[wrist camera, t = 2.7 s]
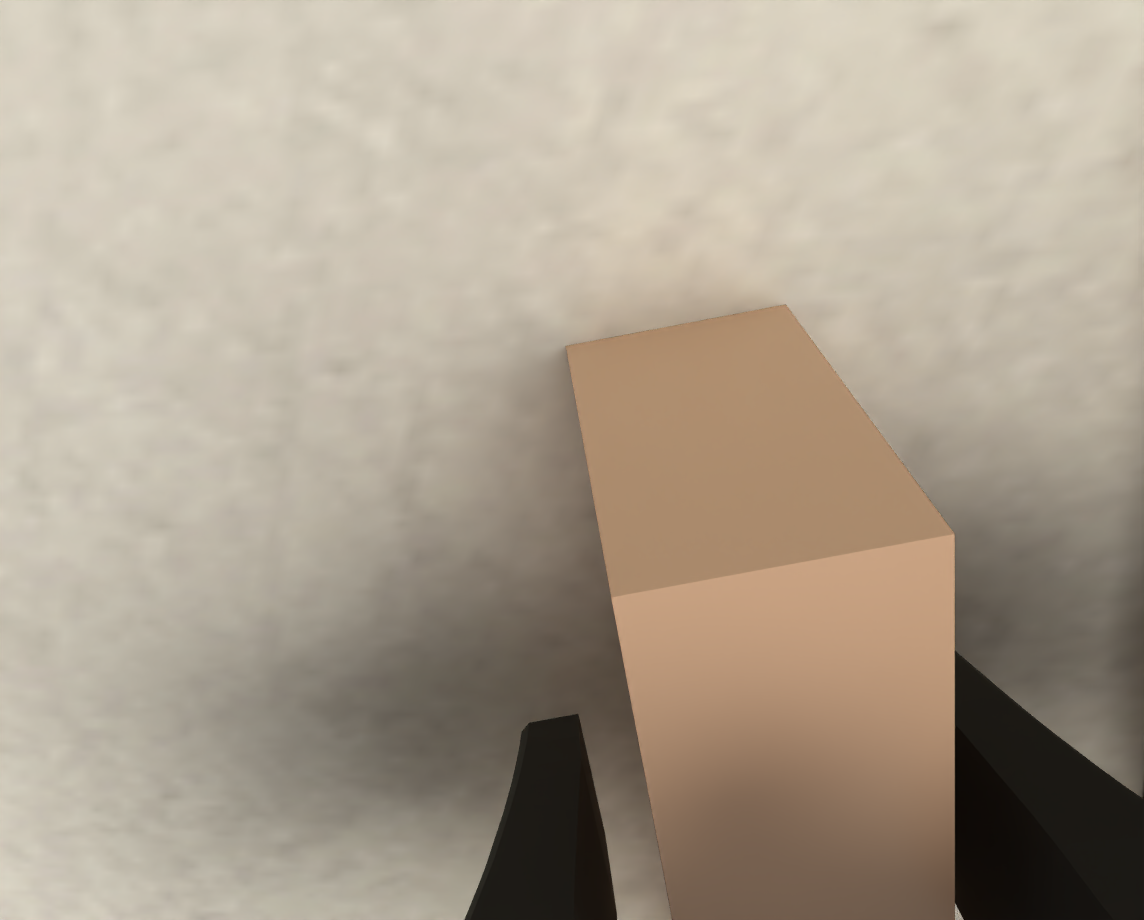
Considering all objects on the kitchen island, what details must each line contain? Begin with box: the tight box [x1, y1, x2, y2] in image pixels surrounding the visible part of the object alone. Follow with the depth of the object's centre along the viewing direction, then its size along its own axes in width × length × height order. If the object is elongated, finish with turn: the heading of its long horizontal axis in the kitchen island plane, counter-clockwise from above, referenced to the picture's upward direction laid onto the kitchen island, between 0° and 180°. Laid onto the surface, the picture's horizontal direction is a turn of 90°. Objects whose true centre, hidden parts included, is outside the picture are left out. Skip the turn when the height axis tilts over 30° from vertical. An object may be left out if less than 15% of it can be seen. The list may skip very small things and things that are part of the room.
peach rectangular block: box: [566, 305, 955, 920], centre depth 12 cm, size 10×2×5 cm, turn 10°
